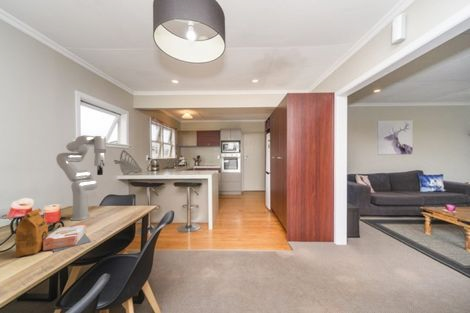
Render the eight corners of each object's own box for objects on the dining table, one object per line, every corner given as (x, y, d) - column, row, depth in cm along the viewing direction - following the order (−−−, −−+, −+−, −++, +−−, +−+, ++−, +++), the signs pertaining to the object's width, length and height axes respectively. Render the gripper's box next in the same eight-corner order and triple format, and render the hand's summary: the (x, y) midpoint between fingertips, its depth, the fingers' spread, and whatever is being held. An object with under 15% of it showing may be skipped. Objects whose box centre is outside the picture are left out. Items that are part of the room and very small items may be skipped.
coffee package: (52, 244, 105) (52, 207, 105) (36, 255, 93) (36, 213, 93) (29, 247, 102) (29, 208, 102) (10, 259, 90) (11, 215, 90)
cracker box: (86, 222, 122) (75, 235, 103) (86, 231, 122) (75, 245, 103) (58, 226, 116) (42, 240, 97) (59, 235, 116) (42, 251, 97)
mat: (49, 242, 108) (49, 241, 108) (84, 233, 120) (84, 232, 120) (53, 252, 96) (53, 251, 96) (90, 241, 109) (90, 240, 109)
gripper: (91, 151, 144) (91, 174, 144) (96, 151, 134) (96, 175, 134) (102, 151, 150) (102, 173, 150) (108, 151, 140) (108, 175, 140)
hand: (99, 174), depth 142 cm, fingers closed
